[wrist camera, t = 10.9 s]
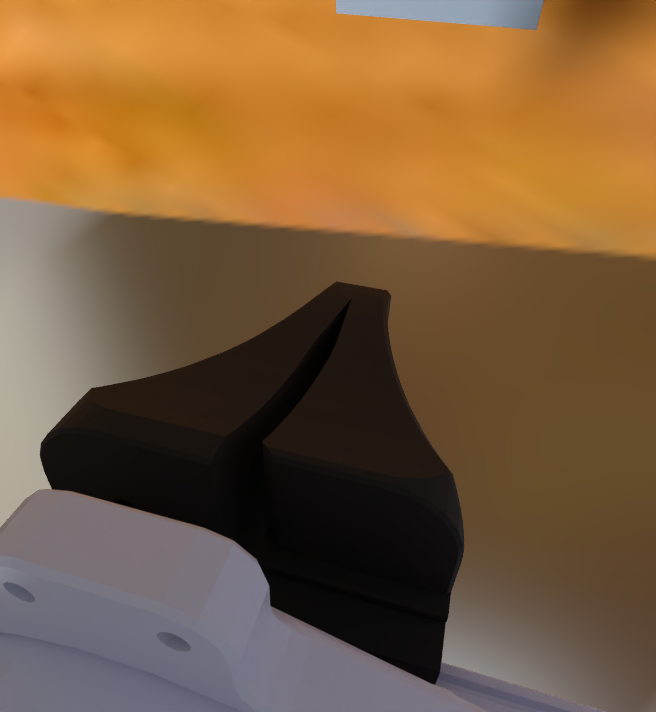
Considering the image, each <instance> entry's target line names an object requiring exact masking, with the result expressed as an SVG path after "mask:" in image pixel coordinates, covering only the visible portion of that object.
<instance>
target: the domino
mask: <svg viewBox="0 0 656 712" xmlns="http://www.w3.org/2000/svg"><path fill="white" fill-rule="evenodd" d="M543 2H544V0H336V12H337V13H340V14H352V15H364V16H376V17H388V18H400V19H412V20H424V21H436V22H449V23H461V24H473V25H485V26H497V27H509V28H521V29H533V30H536V29H537V25H538V21H539V17H540V13H541V9H542V5H543Z"/></svg>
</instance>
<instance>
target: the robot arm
mask: <svg viewBox="0 0 656 712" xmlns="http://www.w3.org/2000/svg"><path fill="white" fill-rule="evenodd" d="M390 301H391V295H390V294H389V292H388V291H387V290H382V289H375V288H370V287H364V286H359V285H353V284H347V283H341V282H335V283H334V284H332V285H331V286H330V287H328V288H327V289H325V290H324V291H323V292H321V293H320V294H319V295H317V296H316V297H315V298H313V299H312V300H311V301H309V302H308V303H307V304H305V305H304V306H303V307H301V308H300V309H298V310H297V311H295V312H294V313H292V314H291V315H290V316H288V317H287V318H285V319H284V320H282V321H281V322H279V323H277V324H276V325H274V326H272V327H271V328H269V329H268V330H266V331H264V332H263V333H261V334H259V335H258V336H256V337H254V338H252V339H250V340H248V341H246V342H244V343H242V344H240V345H238V346H236V347H234V348H232V349H229V350H227V351H225V352H223V353H220V354H218V355H215V356H212V357H210V358H207V359H204V360H202V361H199V362H197V363H194V364H191V365H188V366H186V367H182V368H179V369H176V370H172V371H169V372H166V373H162V374H158V375H154V376H151V377H147V378H142V379H138V380H133V381H128V382H123V383H118V384H113V385H107V386H103V387H96V388H91V389H90V390H89V391H88V392H87V393H86V394H85V395H84V396H83V397H82V398H81V399H80V400H79V401H78V402H77V403H76V405H75V406H73V408H72V409H71V410H70V411H69V412H68V413H67V414H66V415H65V416H64V417H63V418H62V419H61V421H60V422H59V423H58V424H57V425H56V426H55V427H54V428H53V429H52V430H51V431H50V432H49V433H48V434H47V436H46V437H45V438H44V440H43V441H42V442H41V448H40V458H41V462H42V465H43V469H44V472H45V474H46V476H47V478H48V481H49V483H50V485H51V487H52V489H44V490H38V491H36V492H35V493H33V494H32V495H31V496H29V497H27V498H26V499H25V500H24V501H23V502H22V503H21V505H20V506H19V507H18V508H17V509H16V510H15V511H14V513H13V514H12V515H11V516H10V517H9V518H8V519H7V521H6V522H5V523H4V524H3V525H2V526H1V527H0V712H606V711H603V710H600V709H596V708H593V707H590V706H586V705H583V704H580V703H576V702H573V701H570V700H566V699H563V698H559V697H556V696H552V695H549V694H546V693H543V692H539V691H536V690H532V689H529V688H526V687H523V686H519V685H516V684H513V683H509V682H506V681H503V680H499V679H496V678H493V677H489V676H485V675H482V674H479V673H476V672H472V671H469V670H466V669H462V668H459V667H456V666H452V665H449V664H446V663H442V662H441V659H442V650H443V641H444V632H445V622H446V621H447V619H448V613H449V604H450V595H451V590H452V587H453V585H454V582H455V579H456V575H457V573H458V570H459V567H460V564H461V561H462V557H463V552H464V530H463V520H462V514H461V508H460V503H459V498H458V494H457V489H456V485H455V481H454V477H453V474H452V473H451V472H450V470H449V469H448V468H447V466H446V465H445V464H444V462H442V460H441V458H440V457H439V456H438V454H437V453H436V451H435V450H434V448H433V447H432V445H431V444H430V442H429V440H428V439H427V437H426V436H425V434H424V432H423V431H422V429H421V427H420V425H419V423H418V421H417V419H416V417H415V415H414V414H413V412H412V410H411V408H410V406H409V403H408V401H407V399H406V396H405V394H404V391H403V389H402V386H401V383H400V380H399V377H398V374H397V371H396V367H395V364H394V360H393V356H392V351H391V346H390V340H389V332H388V317H389V309H390Z"/></svg>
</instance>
